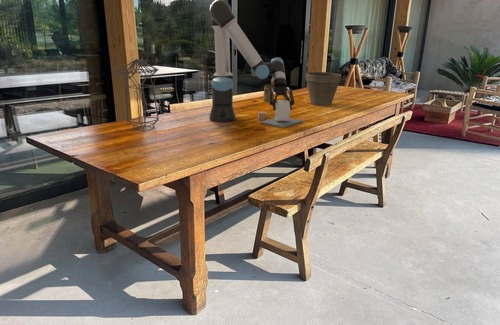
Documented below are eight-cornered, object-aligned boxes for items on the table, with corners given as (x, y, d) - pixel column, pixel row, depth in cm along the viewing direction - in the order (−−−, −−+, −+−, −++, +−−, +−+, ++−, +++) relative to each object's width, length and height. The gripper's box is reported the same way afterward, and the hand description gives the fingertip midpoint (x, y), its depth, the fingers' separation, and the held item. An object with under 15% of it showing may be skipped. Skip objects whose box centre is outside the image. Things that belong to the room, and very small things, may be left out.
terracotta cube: (265, 120, 229) (266, 113, 227) (259, 120, 228) (259, 113, 227) (264, 118, 233) (265, 111, 231) (258, 118, 232) (258, 111, 231)
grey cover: (288, 120, 219) (289, 102, 215) (277, 120, 218) (277, 102, 215) (286, 118, 225) (287, 100, 222) (275, 118, 224) (275, 99, 221)
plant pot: (341, 107, 271) (344, 76, 264) (306, 106, 271) (308, 75, 265) (334, 101, 295) (337, 72, 288) (302, 100, 295) (304, 71, 288)
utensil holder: (280, 99, 297) (281, 75, 291) (269, 101, 287) (270, 77, 281) (271, 98, 302) (272, 74, 296) (260, 100, 293) (260, 75, 287)
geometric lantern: (143, 133, 192) (136, 60, 181) (121, 130, 200) (113, 59, 189) (165, 127, 205) (160, 58, 194) (144, 124, 213) (137, 57, 202)
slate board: (283, 128, 210) (283, 126, 210) (259, 123, 219) (259, 121, 219) (302, 122, 225) (303, 120, 225) (280, 118, 234) (280, 116, 234)
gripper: (294, 85, 232) (299, 118, 222) (261, 85, 229) (265, 118, 219) (297, 77, 225) (301, 111, 215) (263, 77, 223) (266, 110, 213)
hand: (283, 114), depth 217 cm, fingers closed on grey cover, 7 cm apart
